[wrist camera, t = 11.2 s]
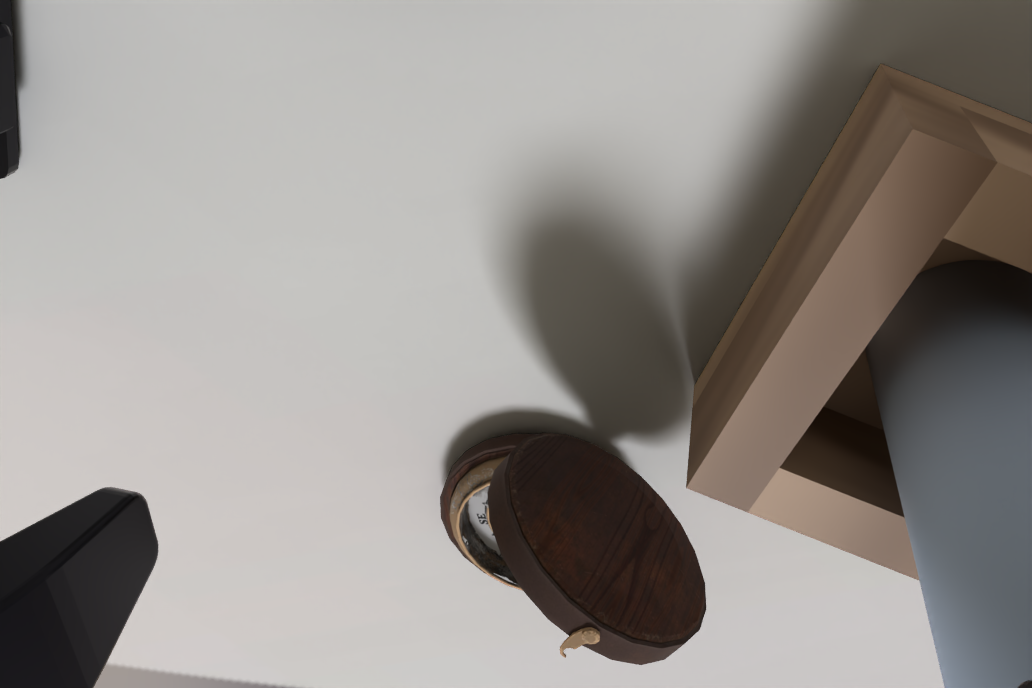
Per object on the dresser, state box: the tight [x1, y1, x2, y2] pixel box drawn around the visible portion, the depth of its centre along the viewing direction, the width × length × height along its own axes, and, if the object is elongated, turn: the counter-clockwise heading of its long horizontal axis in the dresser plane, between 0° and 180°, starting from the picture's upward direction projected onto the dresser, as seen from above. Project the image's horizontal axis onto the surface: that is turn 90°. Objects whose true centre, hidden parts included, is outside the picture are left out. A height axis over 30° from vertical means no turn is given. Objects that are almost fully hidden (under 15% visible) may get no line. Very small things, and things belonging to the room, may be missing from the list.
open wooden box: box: [686, 64, 1032, 581], centre depth 18 cm, size 9×9×4 cm
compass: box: [440, 433, 706, 665], centre depth 23 cm, size 8×8×7 cm
